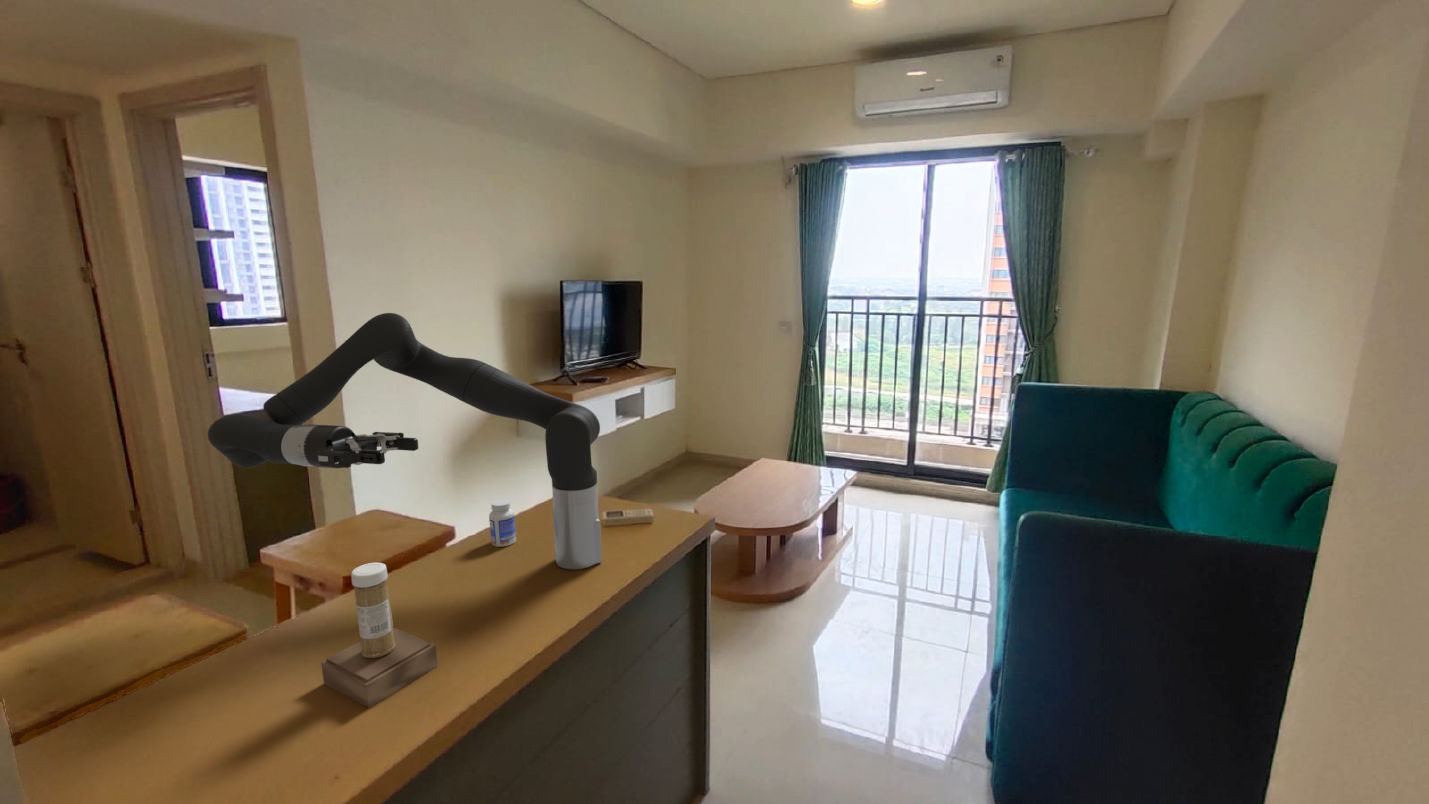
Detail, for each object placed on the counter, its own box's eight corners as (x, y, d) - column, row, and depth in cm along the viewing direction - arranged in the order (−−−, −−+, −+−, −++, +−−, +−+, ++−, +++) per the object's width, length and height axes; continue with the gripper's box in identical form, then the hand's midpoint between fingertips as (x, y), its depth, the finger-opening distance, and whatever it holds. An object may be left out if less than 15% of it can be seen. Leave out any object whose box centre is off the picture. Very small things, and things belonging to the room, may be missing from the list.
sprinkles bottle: (396, 639, 95) (387, 558, 93) (395, 655, 91) (385, 571, 89) (362, 646, 93) (352, 564, 91) (359, 663, 89) (349, 578, 87)
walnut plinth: (393, 646, 101) (390, 623, 100) (437, 666, 95) (435, 642, 95) (323, 683, 91) (320, 659, 90) (369, 708, 86) (366, 682, 85)
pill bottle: (519, 538, 143) (517, 498, 141) (510, 548, 138) (507, 507, 136) (497, 537, 144) (494, 497, 142) (486, 547, 138) (483, 506, 136)
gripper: (282, 434, 101) (368, 439, 98) (348, 416, 115) (425, 420, 112) (288, 478, 103) (373, 484, 100) (352, 455, 117) (428, 460, 114)
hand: (400, 450), depth 106 cm, fingers open, 8 cm apart
